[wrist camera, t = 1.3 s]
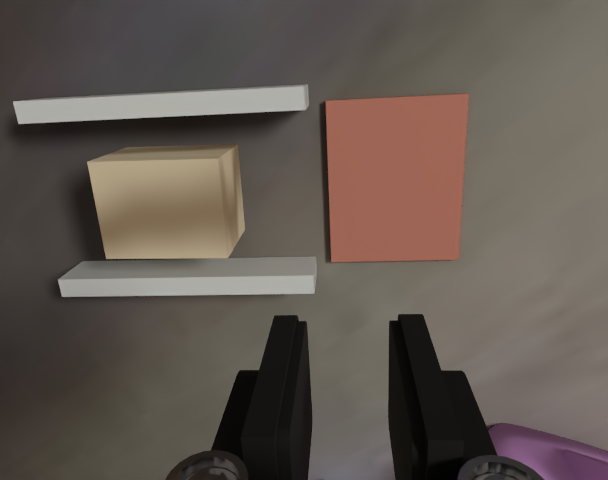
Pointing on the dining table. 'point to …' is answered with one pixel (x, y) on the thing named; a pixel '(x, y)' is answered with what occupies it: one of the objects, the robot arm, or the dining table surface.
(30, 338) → the dining table surface
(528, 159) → the dining table surface
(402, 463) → the robot arm
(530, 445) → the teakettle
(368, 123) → the pad
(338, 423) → the dining table surface
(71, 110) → the channel
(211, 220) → the maple block
